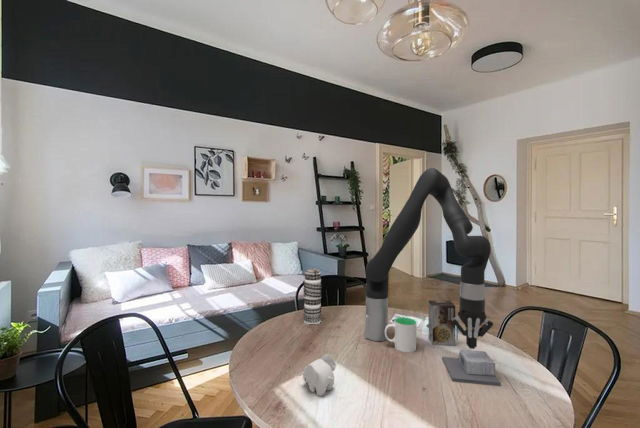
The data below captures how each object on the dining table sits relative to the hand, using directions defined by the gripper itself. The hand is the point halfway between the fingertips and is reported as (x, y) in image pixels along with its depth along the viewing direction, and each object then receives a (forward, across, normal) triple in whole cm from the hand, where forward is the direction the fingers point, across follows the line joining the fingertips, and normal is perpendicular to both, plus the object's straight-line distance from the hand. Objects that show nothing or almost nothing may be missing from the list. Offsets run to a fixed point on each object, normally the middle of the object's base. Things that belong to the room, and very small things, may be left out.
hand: (471, 347), depth 100 cm
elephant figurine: (+8, -49, -18) cm, 53 cm away
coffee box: (+8, -5, +22) cm, 24 cm away
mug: (+8, -22, +14) cm, 27 cm away
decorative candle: (+8, -61, +34) cm, 70 cm away
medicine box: (+5, -3, 0) cm, 6 cm away
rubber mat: (+8, -1, 0) cm, 8 cm away
